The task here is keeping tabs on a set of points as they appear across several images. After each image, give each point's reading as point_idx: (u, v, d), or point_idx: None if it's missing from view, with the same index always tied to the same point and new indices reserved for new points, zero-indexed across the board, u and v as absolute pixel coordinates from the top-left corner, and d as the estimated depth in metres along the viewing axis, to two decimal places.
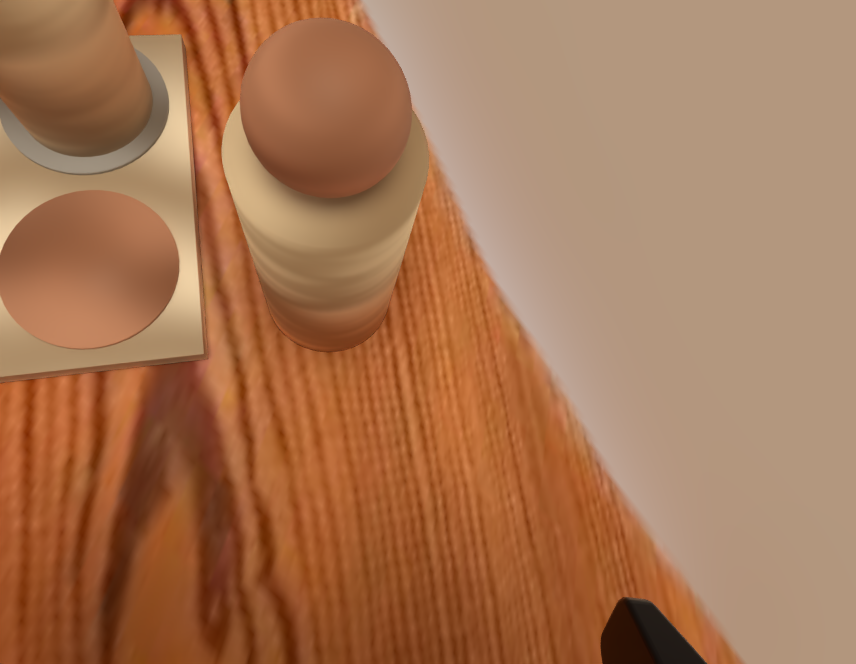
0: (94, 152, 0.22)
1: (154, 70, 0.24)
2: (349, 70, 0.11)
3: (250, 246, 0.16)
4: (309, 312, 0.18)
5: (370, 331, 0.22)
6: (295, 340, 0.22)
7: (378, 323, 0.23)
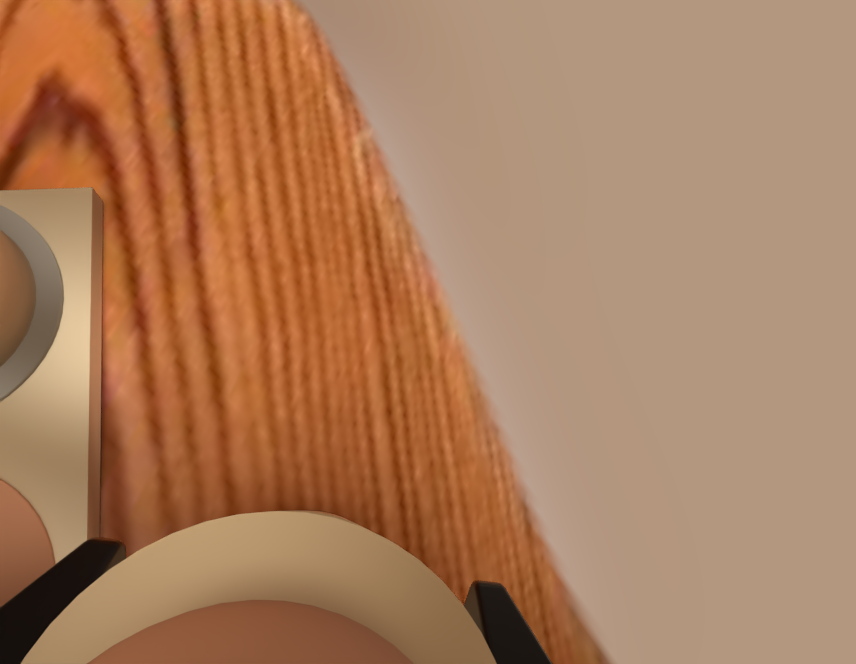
0: None
1: (43, 249, 0.15)
2: None
3: None
4: None
5: None
6: None
7: None
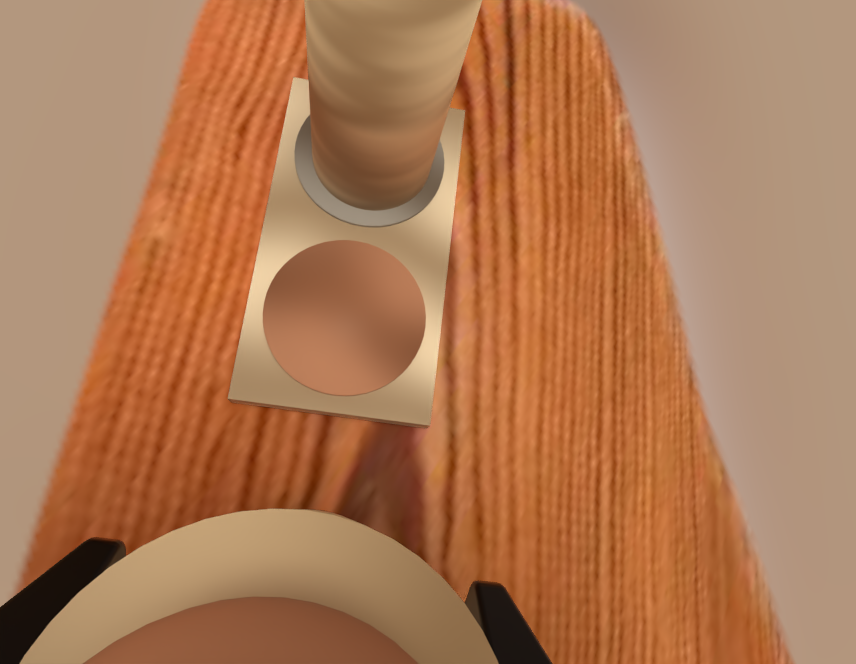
0: (372, 207, 0.23)
1: None
2: None
3: None
4: None
5: None
6: None
7: None
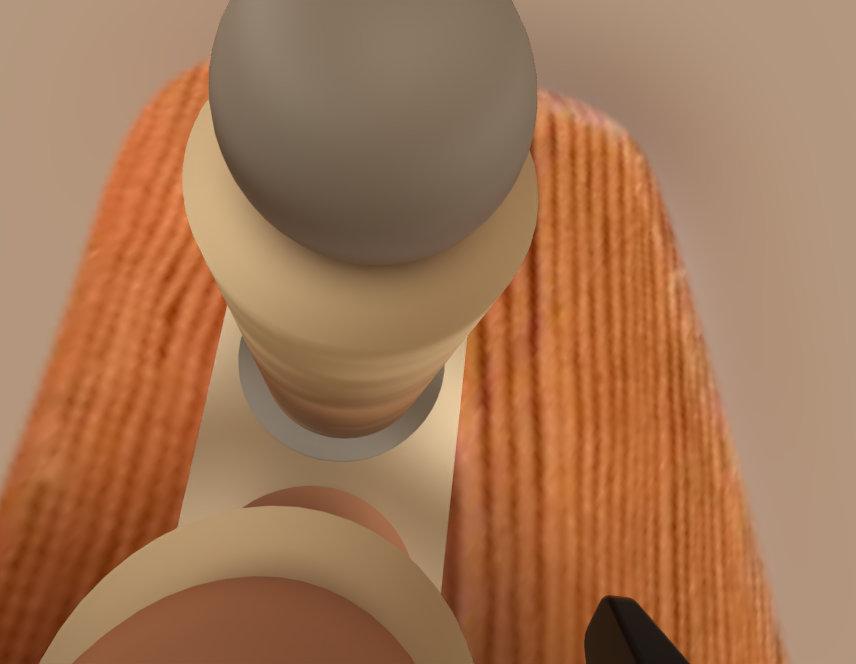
0: (344, 437, 0.17)
1: None
2: None
3: None
4: None
5: None
6: None
7: None
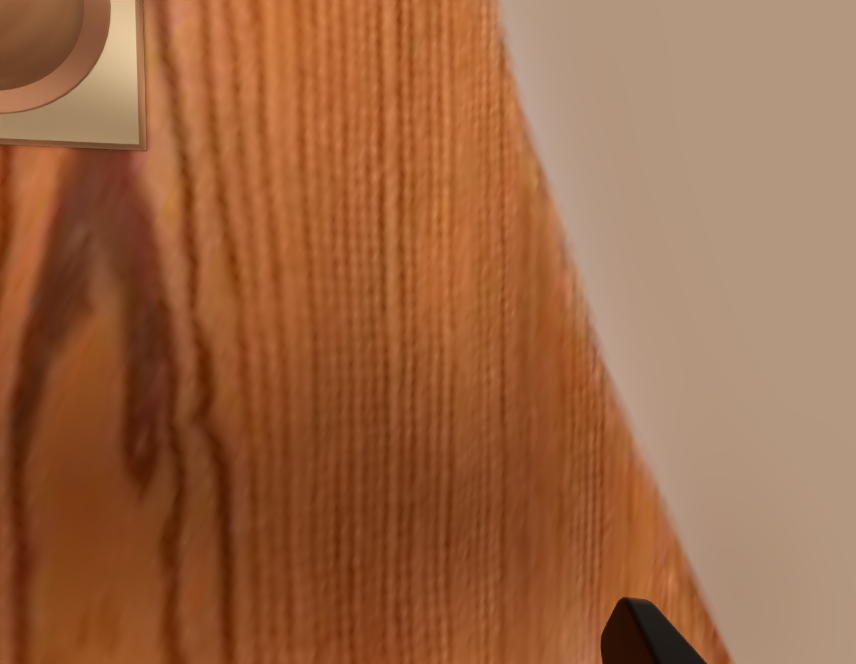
0: None
1: None
2: None
3: None
4: None
5: (45, 51, 0.15)
6: None
7: (55, 38, 0.15)
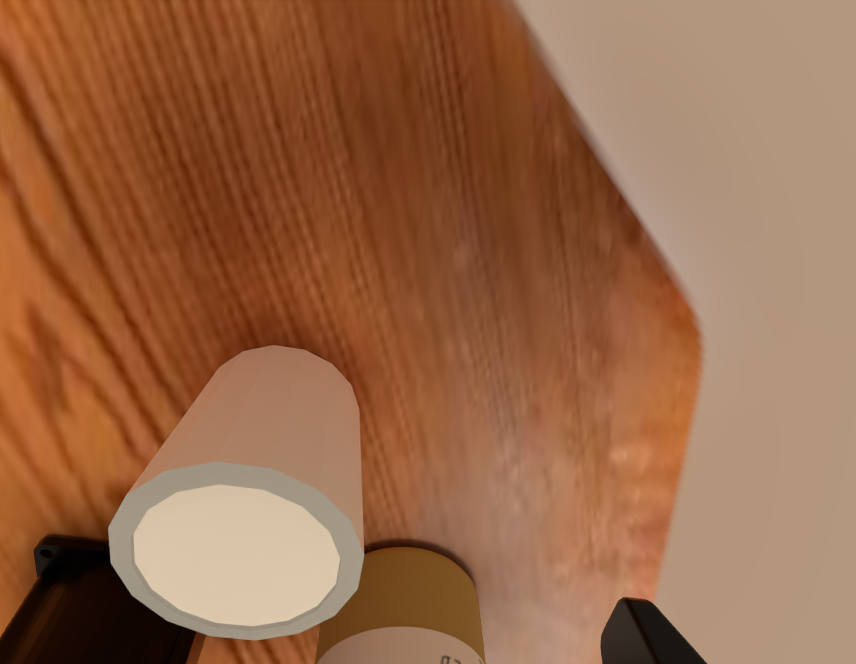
0: None
1: None
2: None
3: None
4: None
5: None
6: None
7: None
